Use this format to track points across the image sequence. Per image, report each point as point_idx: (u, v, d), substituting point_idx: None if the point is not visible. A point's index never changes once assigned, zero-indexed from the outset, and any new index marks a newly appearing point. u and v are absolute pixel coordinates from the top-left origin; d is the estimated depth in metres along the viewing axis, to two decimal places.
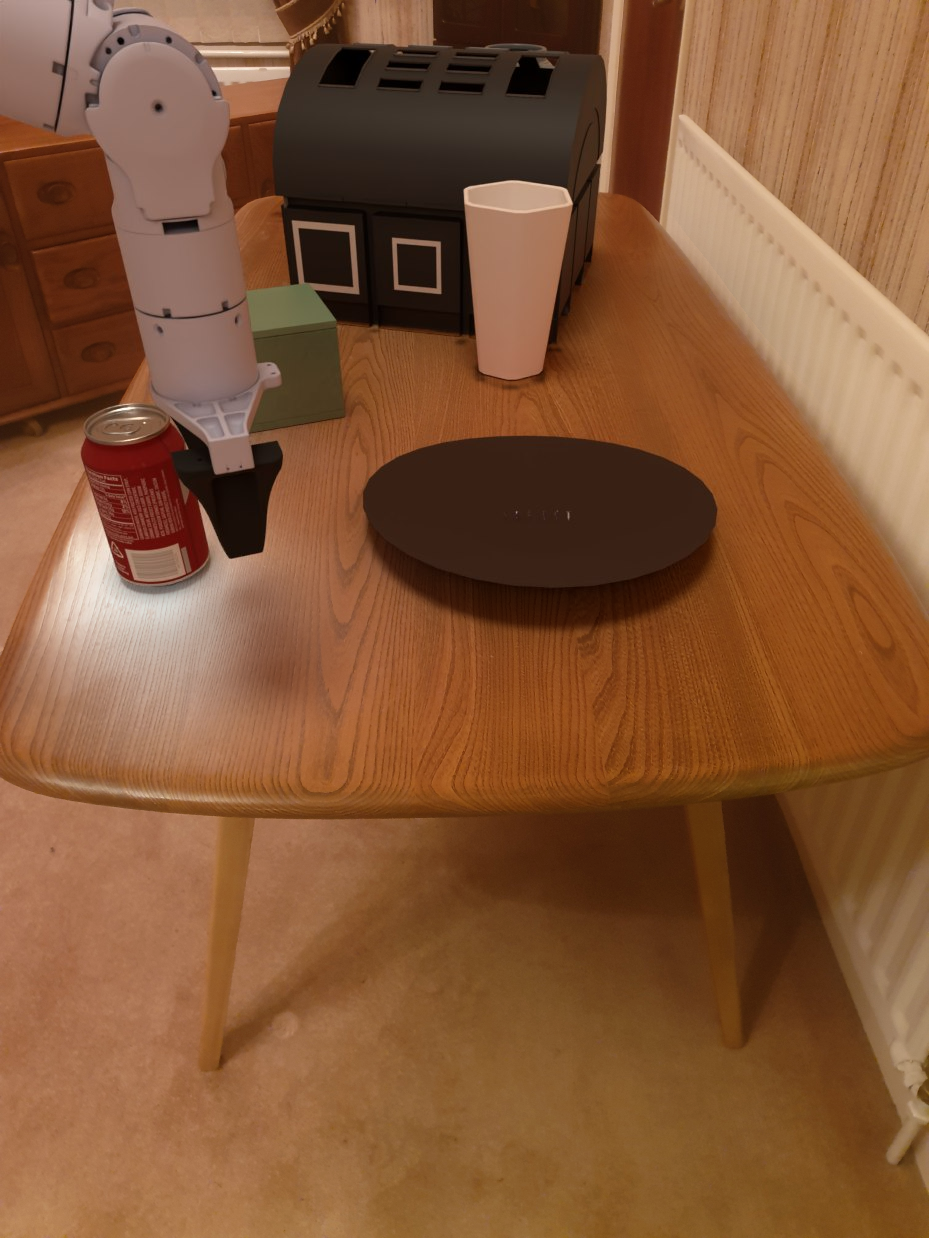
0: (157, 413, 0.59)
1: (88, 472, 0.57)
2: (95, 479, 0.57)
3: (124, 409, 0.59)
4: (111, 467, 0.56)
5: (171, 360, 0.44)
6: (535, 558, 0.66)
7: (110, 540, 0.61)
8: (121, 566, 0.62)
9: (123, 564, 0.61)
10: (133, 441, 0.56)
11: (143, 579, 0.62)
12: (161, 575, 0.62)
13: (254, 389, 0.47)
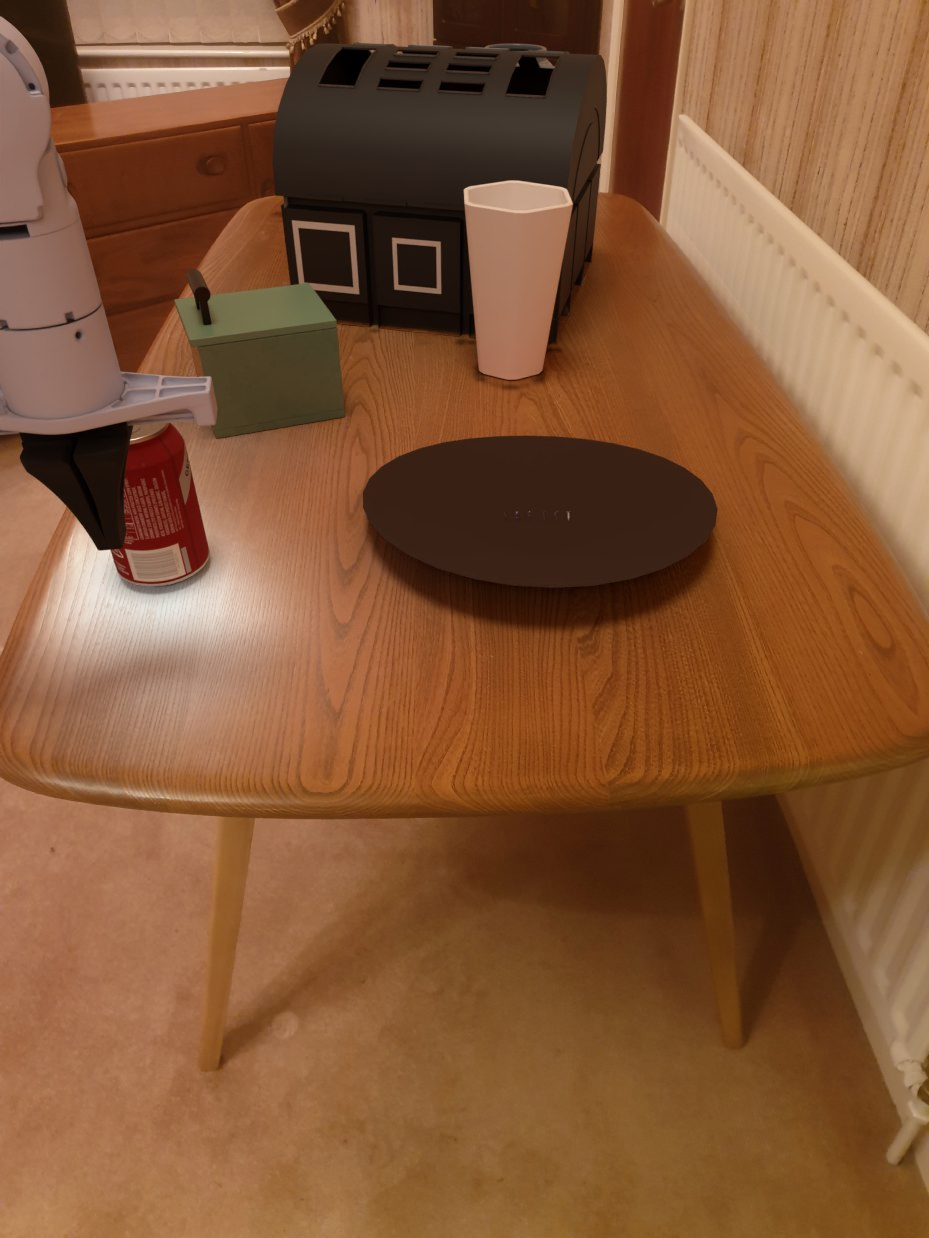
0: None
1: None
2: None
3: None
4: None
5: (96, 362, 0.42)
6: (535, 558, 0.66)
7: None
8: (121, 566, 0.62)
9: (123, 564, 0.61)
10: (133, 441, 0.56)
11: (143, 579, 0.62)
12: (161, 576, 0.62)
13: None
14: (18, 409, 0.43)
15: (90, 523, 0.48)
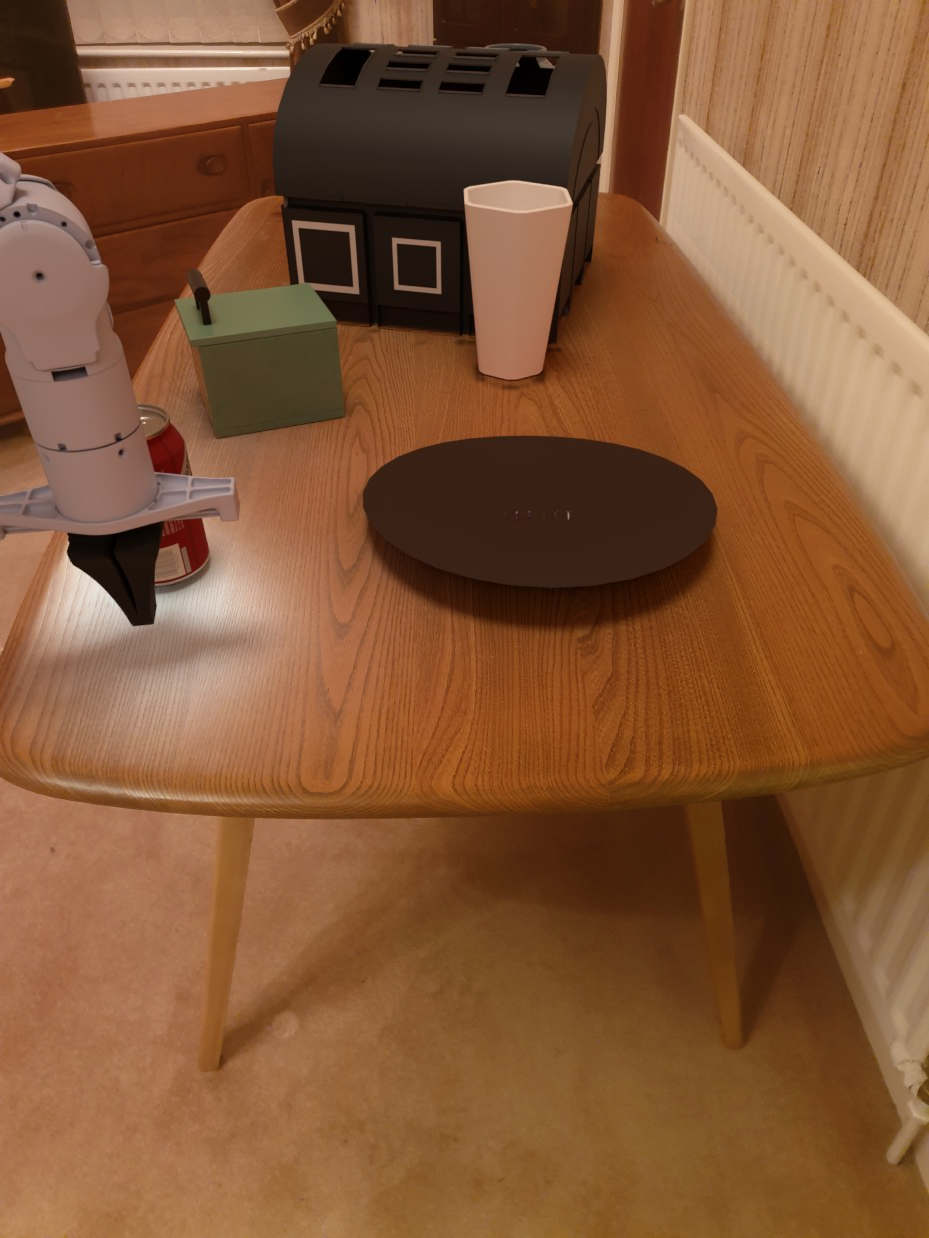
0: (157, 413, 0.59)
1: None
2: None
3: None
4: None
5: (135, 473, 0.48)
6: (535, 558, 0.66)
7: None
8: None
9: None
10: None
11: None
12: (161, 576, 0.62)
13: None
14: (67, 513, 0.49)
15: (126, 604, 0.54)
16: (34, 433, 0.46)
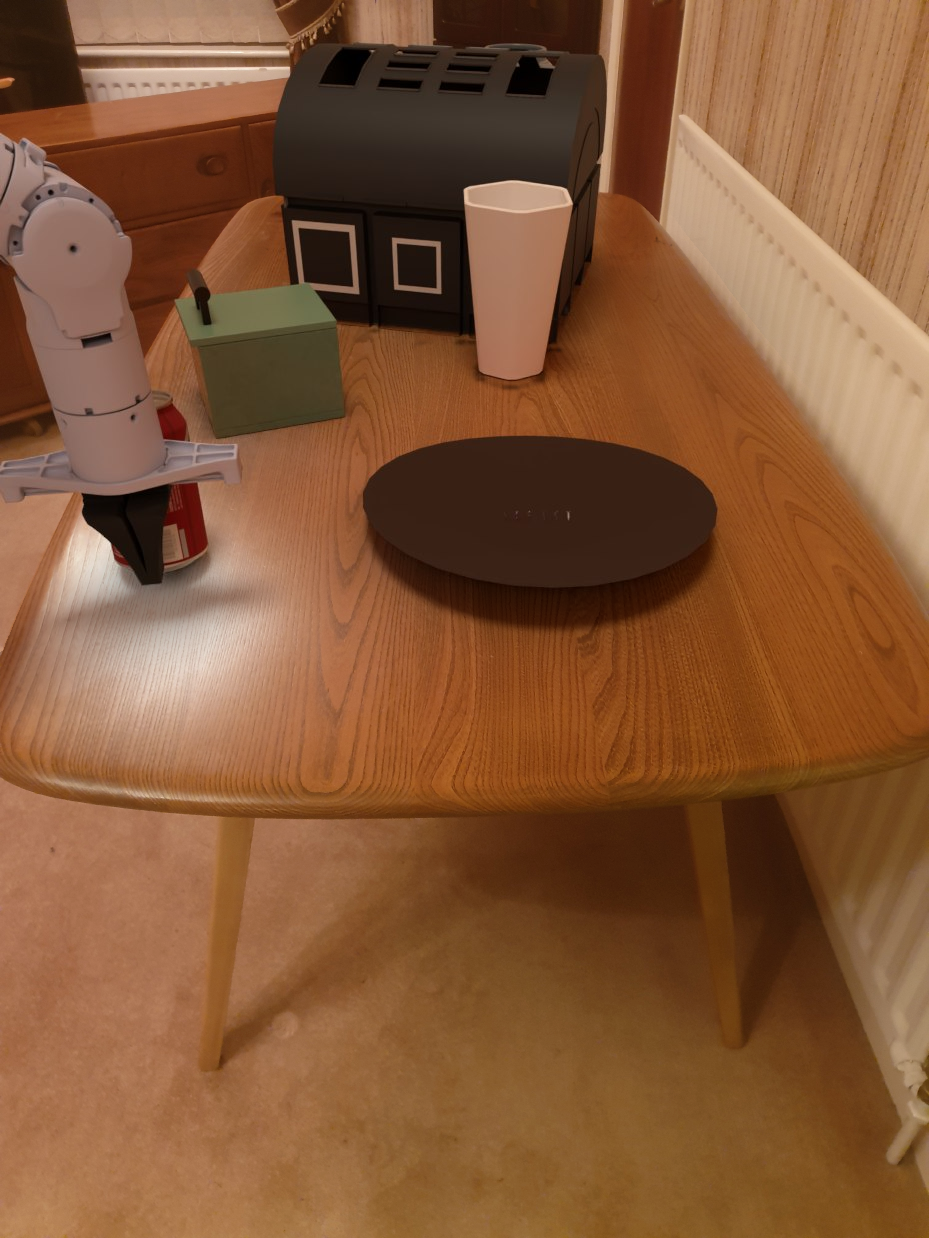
0: (161, 397, 0.61)
1: None
2: None
3: None
4: None
5: (146, 437, 0.52)
6: (535, 558, 0.66)
7: None
8: None
9: None
10: None
11: None
12: None
13: None
14: (82, 475, 0.52)
15: (136, 563, 0.58)
16: (59, 401, 0.49)
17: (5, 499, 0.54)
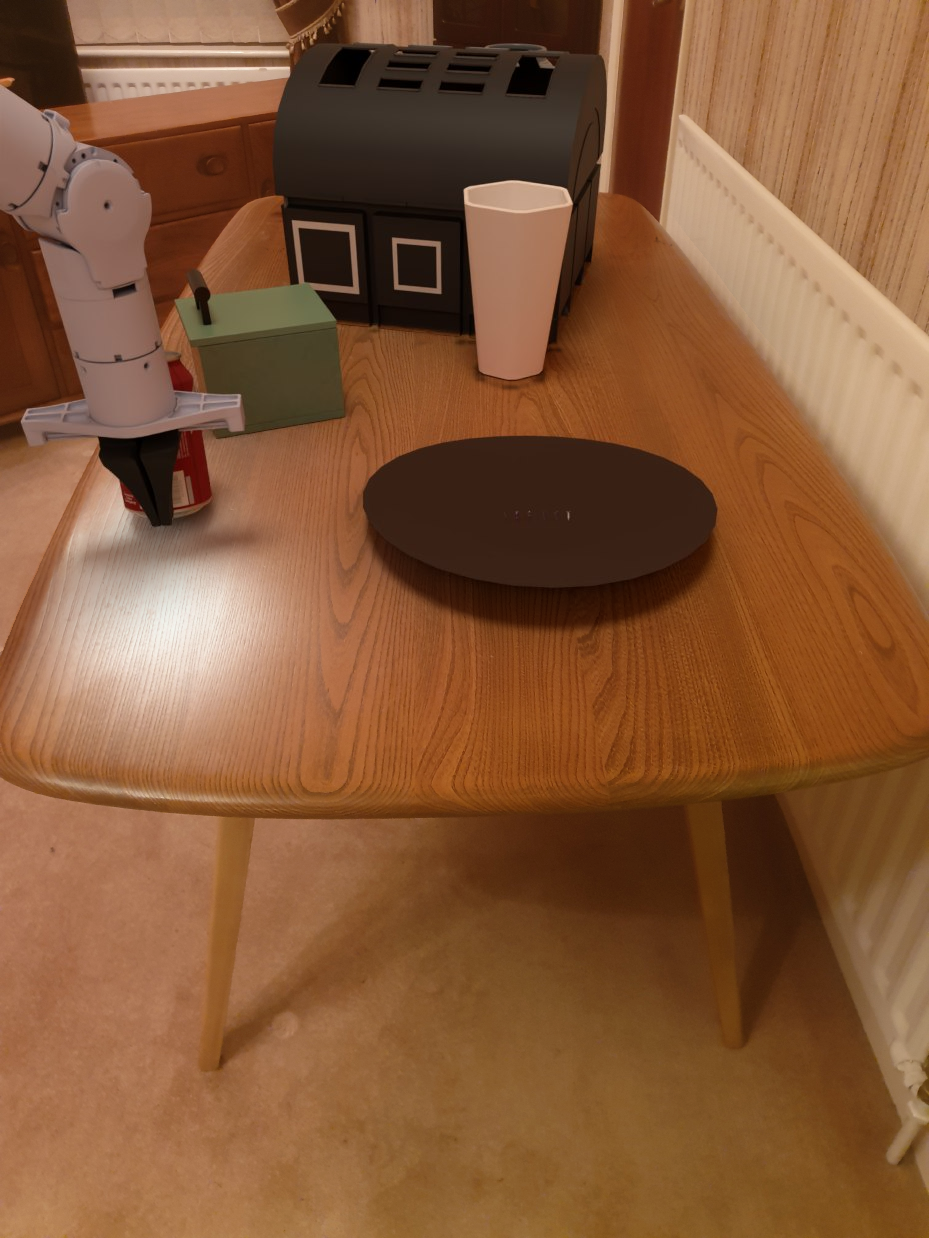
0: (170, 356, 0.66)
1: None
2: None
3: None
4: None
5: (157, 385, 0.57)
6: (535, 558, 0.66)
7: None
8: (129, 496, 0.66)
9: None
10: None
11: None
12: None
13: None
14: (100, 419, 0.58)
15: (147, 505, 0.63)
16: (88, 351, 0.54)
17: (29, 443, 0.59)
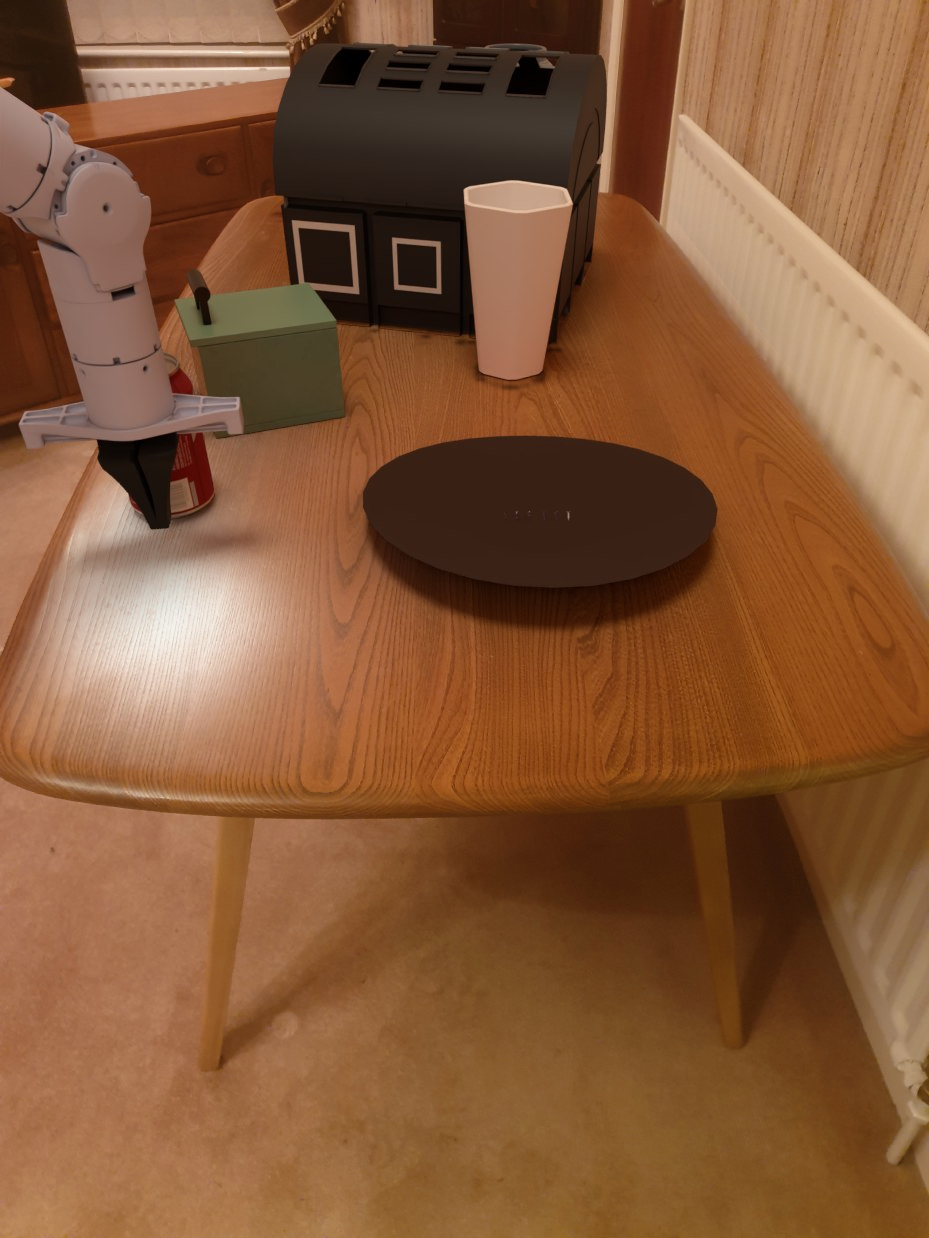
0: (168, 359, 0.66)
1: None
2: None
3: None
4: None
5: (156, 388, 0.57)
6: (535, 558, 0.66)
7: None
8: None
9: None
10: None
11: None
12: (172, 508, 0.69)
13: None
14: (98, 422, 0.57)
15: (146, 508, 0.63)
16: (87, 354, 0.54)
17: (27, 446, 0.59)
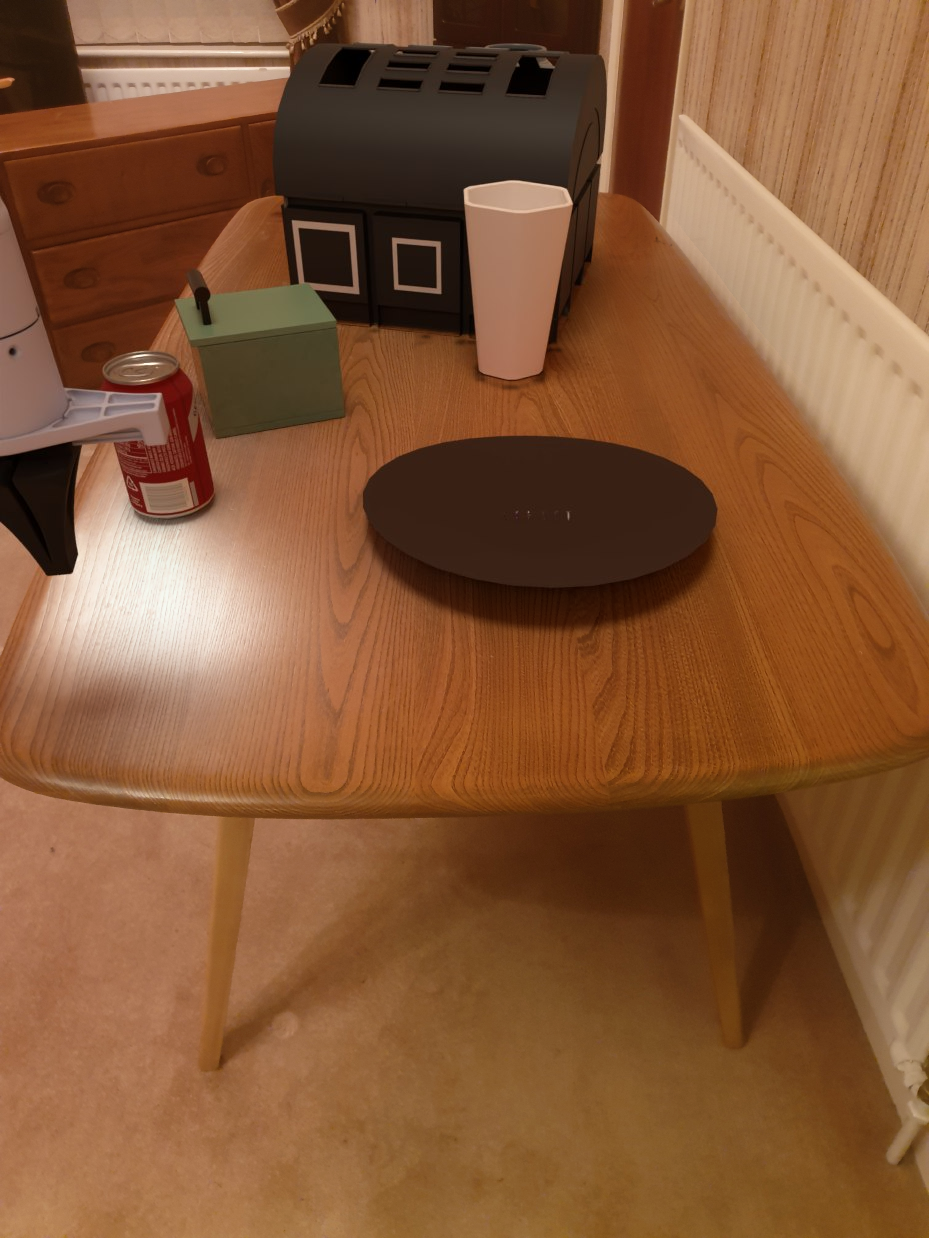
0: (168, 359, 0.66)
1: None
2: None
3: (138, 356, 0.66)
4: None
5: (33, 380, 0.40)
6: (535, 558, 0.66)
7: (126, 475, 0.68)
8: (136, 499, 0.69)
9: (137, 497, 0.68)
10: (147, 381, 0.62)
11: (155, 511, 0.69)
12: (172, 508, 0.69)
13: None
14: None
15: (36, 548, 0.45)
16: None
17: None
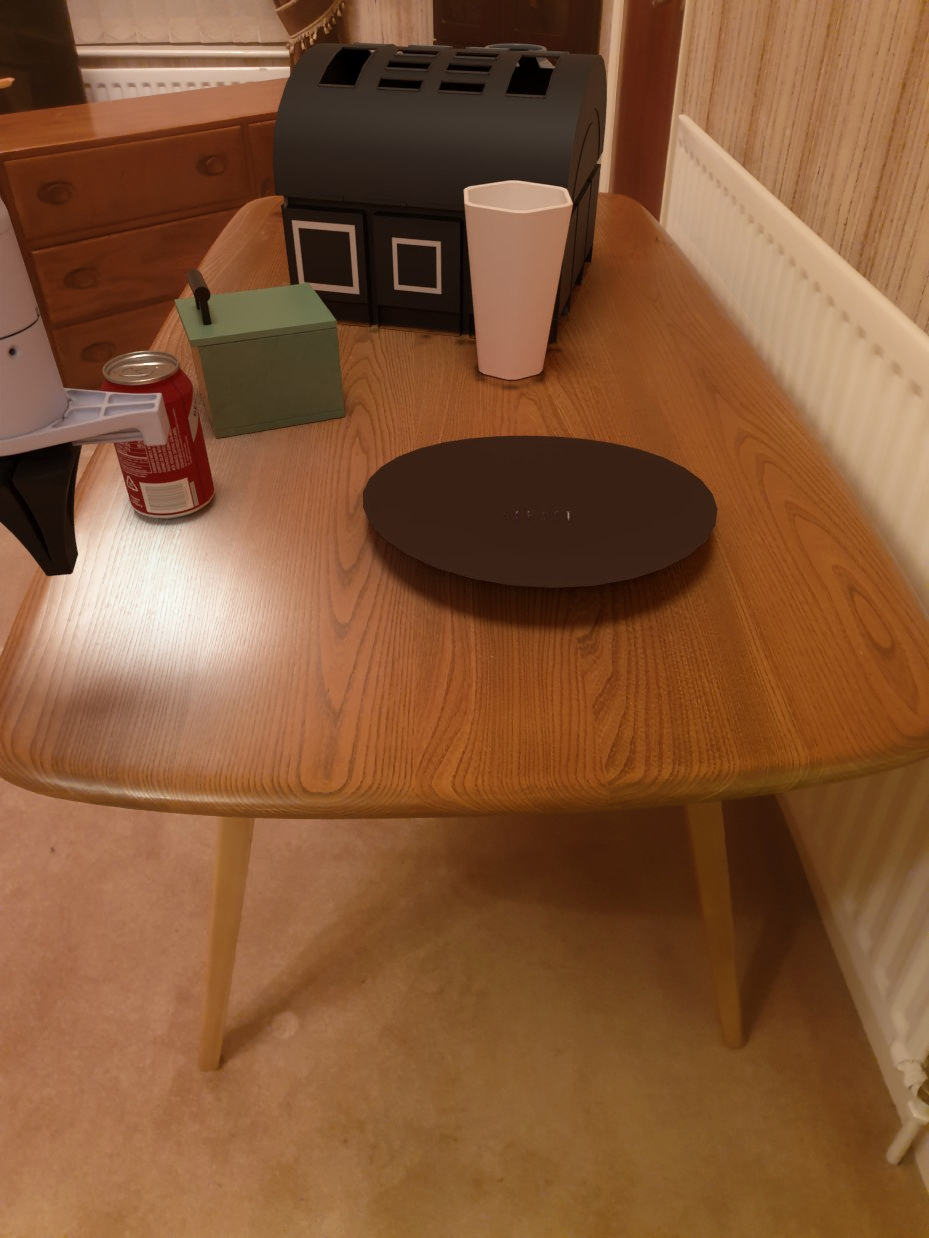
0: (168, 359, 0.66)
1: None
2: None
3: (138, 356, 0.66)
4: None
5: (33, 380, 0.40)
6: (535, 558, 0.66)
7: (126, 475, 0.68)
8: (136, 499, 0.69)
9: (137, 497, 0.68)
10: (148, 381, 0.62)
11: (155, 511, 0.69)
12: (172, 508, 0.69)
13: None
14: None
15: (36, 548, 0.45)
16: None
17: None
